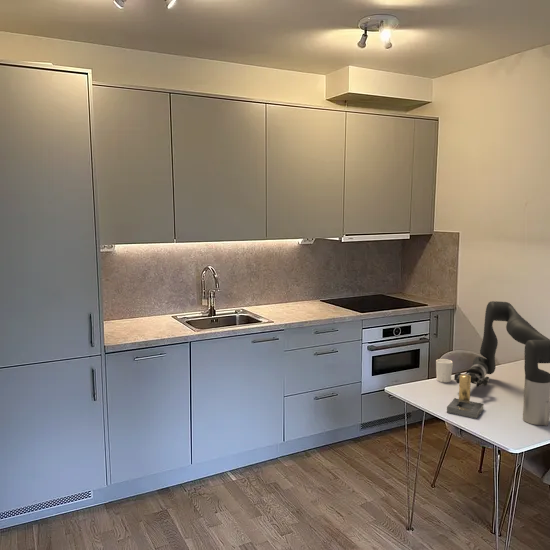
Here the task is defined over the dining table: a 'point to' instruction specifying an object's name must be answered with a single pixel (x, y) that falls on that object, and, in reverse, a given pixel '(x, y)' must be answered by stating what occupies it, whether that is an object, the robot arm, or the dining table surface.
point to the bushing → (464, 387)
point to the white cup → (443, 370)
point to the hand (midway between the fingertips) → (467, 382)
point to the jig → (465, 408)
